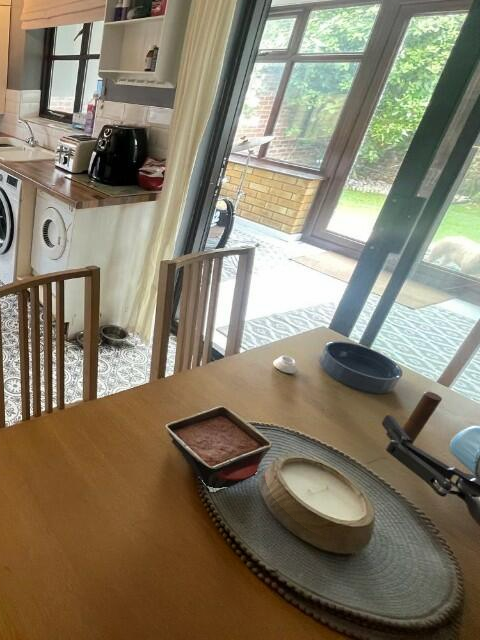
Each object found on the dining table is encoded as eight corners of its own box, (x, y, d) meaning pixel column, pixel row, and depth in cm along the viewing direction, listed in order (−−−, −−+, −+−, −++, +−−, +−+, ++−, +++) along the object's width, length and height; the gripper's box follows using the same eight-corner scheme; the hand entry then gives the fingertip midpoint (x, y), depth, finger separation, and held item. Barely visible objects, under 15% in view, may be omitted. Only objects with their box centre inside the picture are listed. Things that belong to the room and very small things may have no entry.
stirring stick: (409, 444, 89) (441, 395, 83) (409, 451, 87) (442, 402, 81) (394, 438, 90) (424, 389, 84) (394, 444, 88) (425, 395, 83)
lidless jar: (285, 361, 113) (268, 362, 113) (289, 353, 112) (272, 353, 112) (300, 374, 109) (282, 374, 108) (304, 365, 107) (285, 366, 107)
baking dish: (153, 444, 91) (158, 415, 85) (222, 420, 93) (231, 391, 88) (200, 509, 79) (210, 480, 73) (278, 479, 81) (292, 449, 76)
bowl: (393, 373, 109) (402, 358, 107) (393, 404, 99) (402, 389, 97) (321, 348, 118) (328, 334, 116) (314, 374, 108) (321, 360, 106)
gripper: (408, 521, 70) (346, 426, 88) (610, 570, 63) (496, 456, 81) (430, 492, 66) (360, 399, 85) (644, 541, 60) (518, 429, 78)
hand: (427, 427), depth 83 cm, fingers open, 13 cm apart
